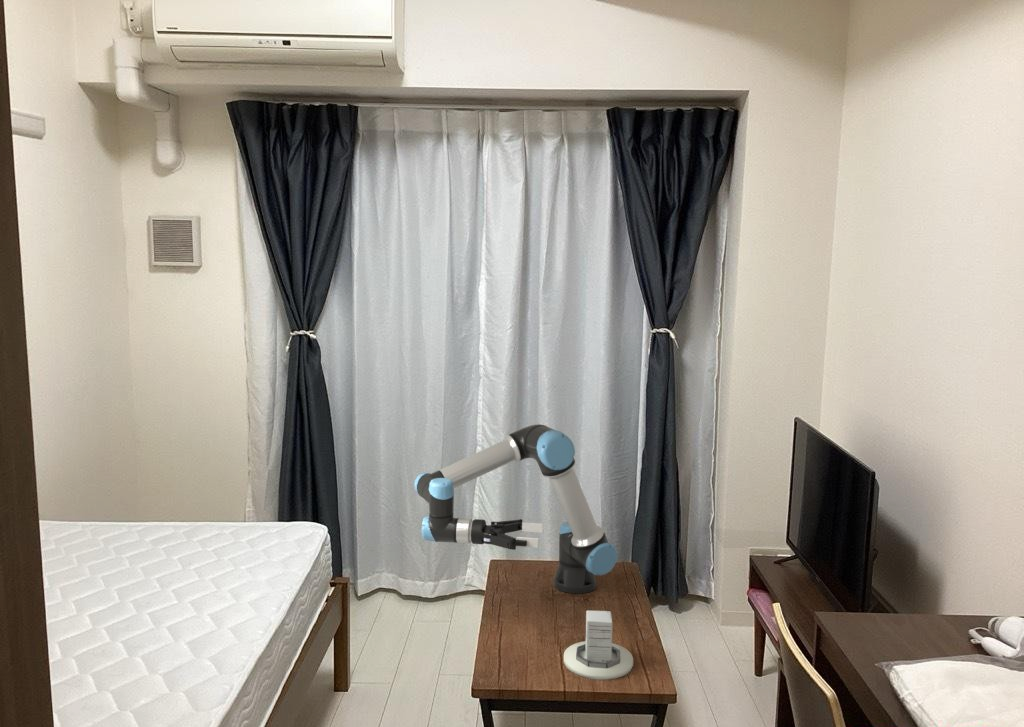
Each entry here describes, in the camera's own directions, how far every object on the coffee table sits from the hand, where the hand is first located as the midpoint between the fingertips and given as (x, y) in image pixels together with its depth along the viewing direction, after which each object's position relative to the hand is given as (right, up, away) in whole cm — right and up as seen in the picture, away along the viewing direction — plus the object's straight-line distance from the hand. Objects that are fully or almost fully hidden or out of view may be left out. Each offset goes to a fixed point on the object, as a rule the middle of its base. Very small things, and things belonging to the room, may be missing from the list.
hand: (540, 535), depth 243 cm
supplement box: (+16, -33, -13) cm, 39 cm away
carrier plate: (+16, -34, -12) cm, 40 cm away
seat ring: (+16, -33, -12) cm, 38 cm away
